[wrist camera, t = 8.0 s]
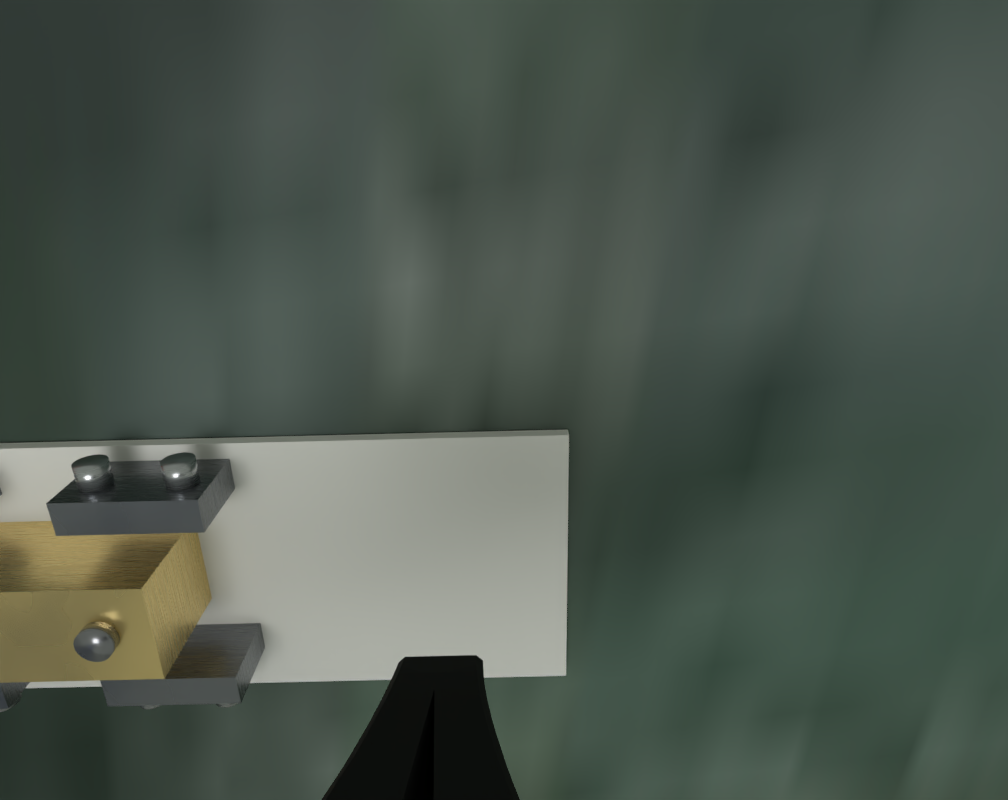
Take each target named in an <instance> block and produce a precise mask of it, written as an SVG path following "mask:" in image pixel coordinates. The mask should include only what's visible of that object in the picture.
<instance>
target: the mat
mask: <svg viewBox="0 0 1008 800" xmlns="http://www.w3.org/2000/svg"><path fill="white" fill-rule="evenodd" d="M182 452H188V453H193V454H195V456H196V459H230V464H231V469H232V474H233V480H234V485H235V489H234V491H233V492H232V494H231V495H230V497H229V498H228V500H227V501H226V502H225V504H224V505H223V507H222V508H221V510H220V511H219V512H218V514H217V515H216V517H215V518H214V520H213V521H212V522H211V524H210V525H209V527H208V528H207V530H206V531H205V533H198V536H199V541H200V545H201V550H202V554H203V559H204V564H205V568H206V573H207V578H208V582H209V587H210V591H211V596H212V599H211V601H210V602H209V604H208V606H207V608H206V609H205V611H204V613H203V614H202V616H201V618H200V619H199V621H198V623H197V625H201V624H243V623H261V628H262V633H263V639H264V644H265V649H264V651H263V654H262V656H261V658H260V660H259V663H258V665H257V667H256V670H255V672H254V674H253V677H252V679H251V681H250V683H272V682H315V681H358V680H391V679H392V677H393V675H394V672H395V670H396V667H397V665H398V663H399V662H400V661H401V660H402V659H403V658H404V657H415V656H458V655H477V656H478V657H479V658H481V659H482V660H483V671H484V678H487V677H530V676H566V640H567V559H568V478H569V433H568V429H566V430H524V431H483V432H441V433H400V434H358V435H317V436H275V437H233V438H192V439H150V440H109V441H67V442H25V443H0V489H1V492H2V495H0V522H28V521H51V518H50V515H49V512H48V508H47V505H46V503H47V502H49V501H50V500H51V499H52V498H53V497H54V496H55V495H57V494H58V493H59V492H60V491H61V490H62V489H63V488H65V487H66V486H67V485H68V484H69V483H70V482H72V481H73V480H74V479H75V478H74V474H73V471H72V467H71V465H72V463H73V462H75V461H76V460H78V459H80V458H83V457H86V456H90V455H98V454H101V455H106V456H108V458H109V461H110V462H113V461H154V460H162V459H163V458H165V457H167V456H169V455H172V454H176V453H182ZM100 686H102V685H101V682H100V680H97V681H53V682H30V683H29V684H28V685H27V687H26V688H57V687H100Z"/></svg>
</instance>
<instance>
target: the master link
mask: <svg viewBox="0 0 1008 800" xmlns="http://www.w3.org/2000/svg"><path fill="white" fill-rule="evenodd" d="M211 599H212V596H211V591H210V587H209V582H208V578H207V573H206V568H205V564H204V559H203V554H202V550H201V545H200V541H199V536H198V533H162V534H120V535H78V536H56V535H55V531H54V528H53V525H52V521H28V522H0V683H10V682H53V681H97V680H140V679H165V677H166V676H167V674H168V672H169V671H170V669H171V667H172V665H173V664H174V662H175V660H176V659H177V657H178V655H179V653H180V652H181V650H182V648H183V647H184V645H185V643H186V642H187V640H188V638H189V636H190V635H191V633H192V631H193V630H194V628H195V626H196V625H197V623H198V621H199V619H200V618H201V616H202V614H203V613H204V611H205V609H206V608H207V606H208V604H209V602H210V601H211Z"/></svg>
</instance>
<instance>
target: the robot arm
mask: <svg viewBox="0 0 1008 800" xmlns="http://www.w3.org/2000/svg"><path fill="white" fill-rule="evenodd" d="M322 800H520V799H519V797H518V794H517V792H516V789H515V787H514V784H513V782H512V779H511V776H510V774H509V771H508V768H507V765H506V762H505V759H504V756H503V753H502V750H501V747H500V744H499V741H498V738H497V735H496V732H495V728H494V725H493V721H492V718H491V713H490V709H489V705H488V701H487V696H486V691H485V685H484V671H483V660H482V659H481V658H479V657H478V656H477V655H458V656H415V657H404V658H403V659H402V660H401V661H400V662H399V663H398V665H397V667H396V670H395V672H394V675H393V677H392V679H391V681H390V683H389V686H388V688H387V690H386V692H385V694H384V696H383V698H382V700H381V702H380V704H379V706H378V707H377V709H376V711H375V713H374V715H373V717H372V719H371V721H370V722H369V724H368V726H367V728H366V729H365V731H364V733H363V734H362V736H361V738H360V740H359V741H358V743H357V745H356V747H355V748H354V750H353V752H352V753H351V755H350V757H349V758H348V760H347V762H346V763H345V765H344V767H343V768H342V770H341V771H340V773H339V774H338V776H337V777H336V779H335V780H334V782H333V783H332V785H331V786H330V788H329V789H328V791H327V792H326V794H325V795H324V797H323V799H322Z"/></svg>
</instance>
